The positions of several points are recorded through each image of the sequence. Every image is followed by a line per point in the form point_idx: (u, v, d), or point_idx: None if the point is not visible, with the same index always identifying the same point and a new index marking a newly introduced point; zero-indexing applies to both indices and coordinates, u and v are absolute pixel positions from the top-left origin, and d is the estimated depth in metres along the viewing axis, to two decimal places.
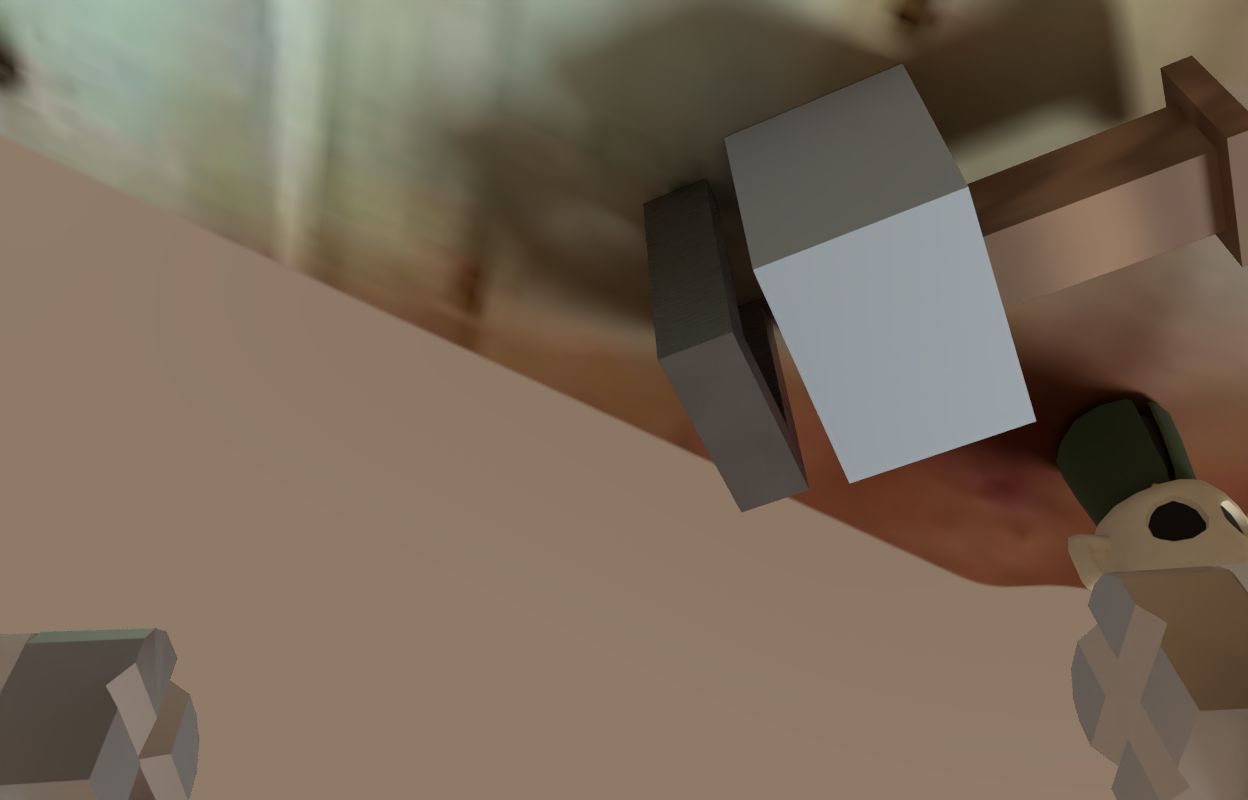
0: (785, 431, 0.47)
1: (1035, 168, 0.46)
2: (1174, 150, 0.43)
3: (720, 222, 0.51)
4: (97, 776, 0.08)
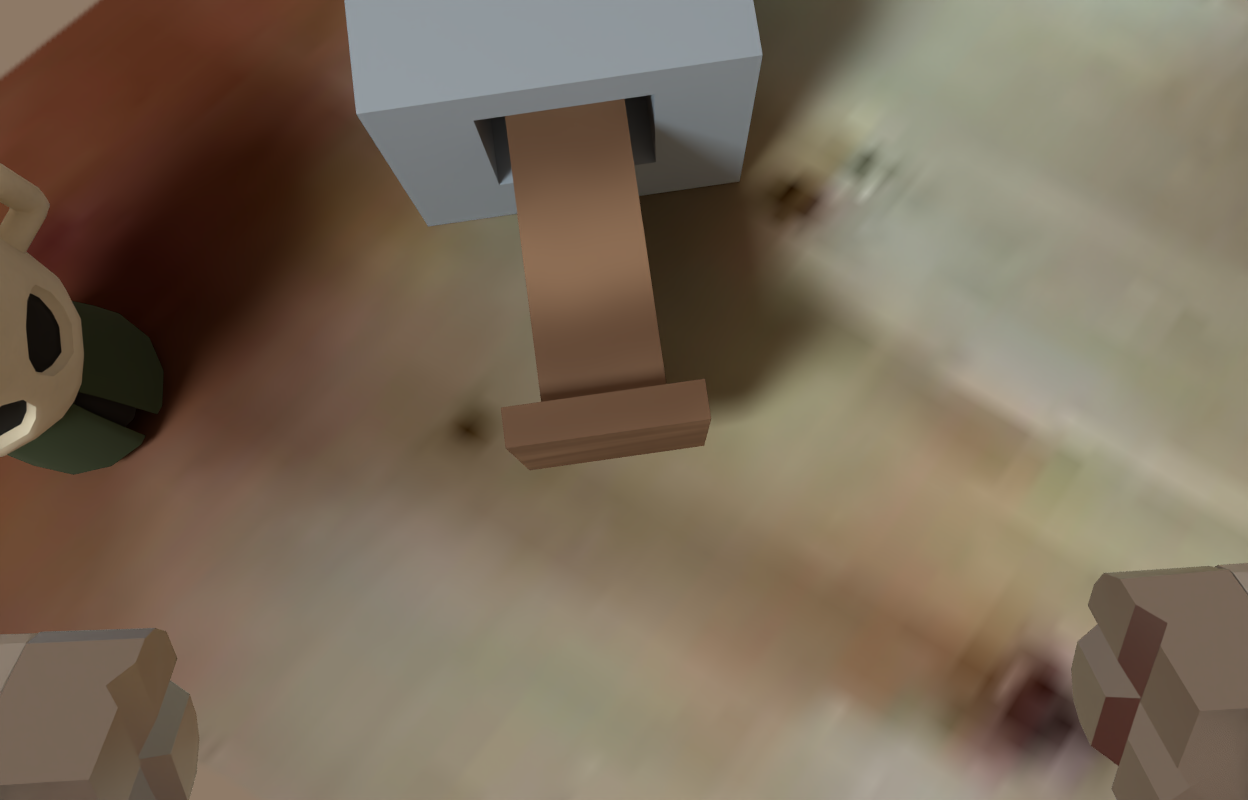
0: None
1: None
2: None
3: None
4: (97, 776, 0.08)
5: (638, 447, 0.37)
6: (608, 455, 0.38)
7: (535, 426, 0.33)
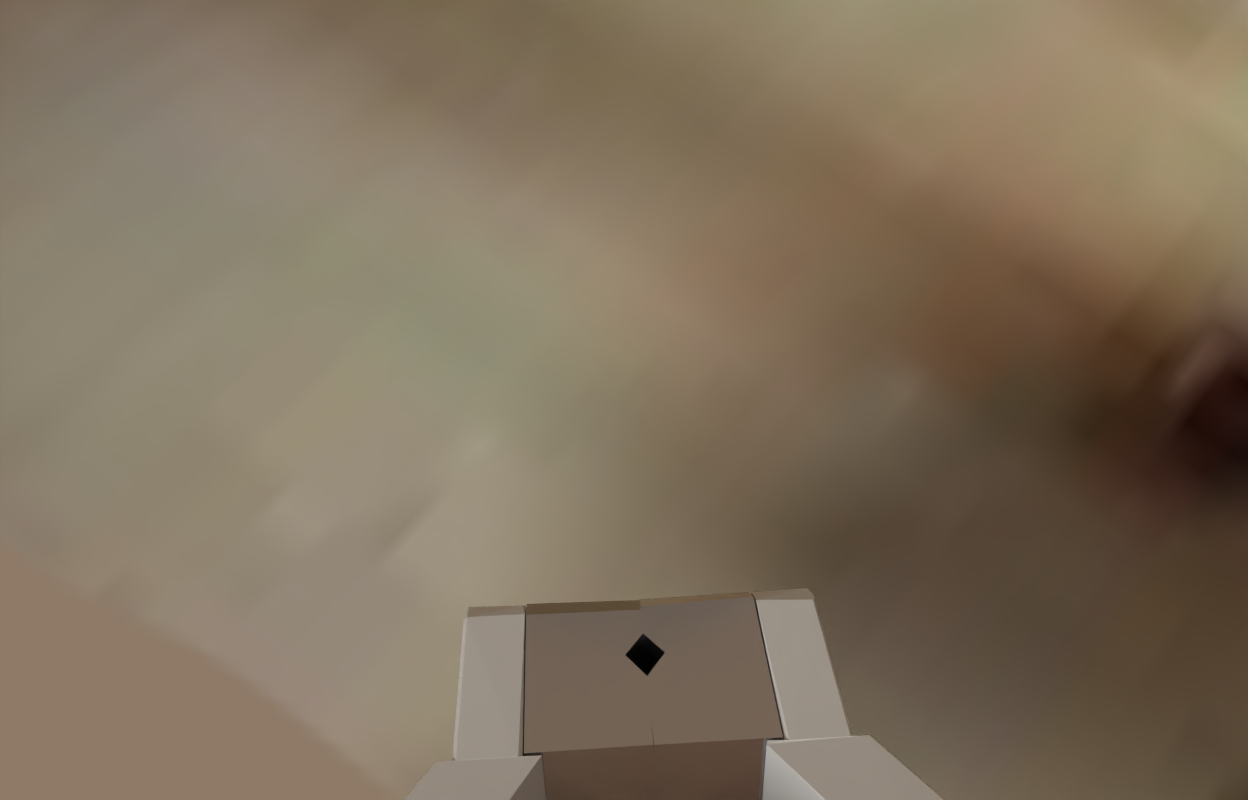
0: None
1: None
2: None
3: None
4: (651, 742, 0.08)
5: None
6: None
7: None
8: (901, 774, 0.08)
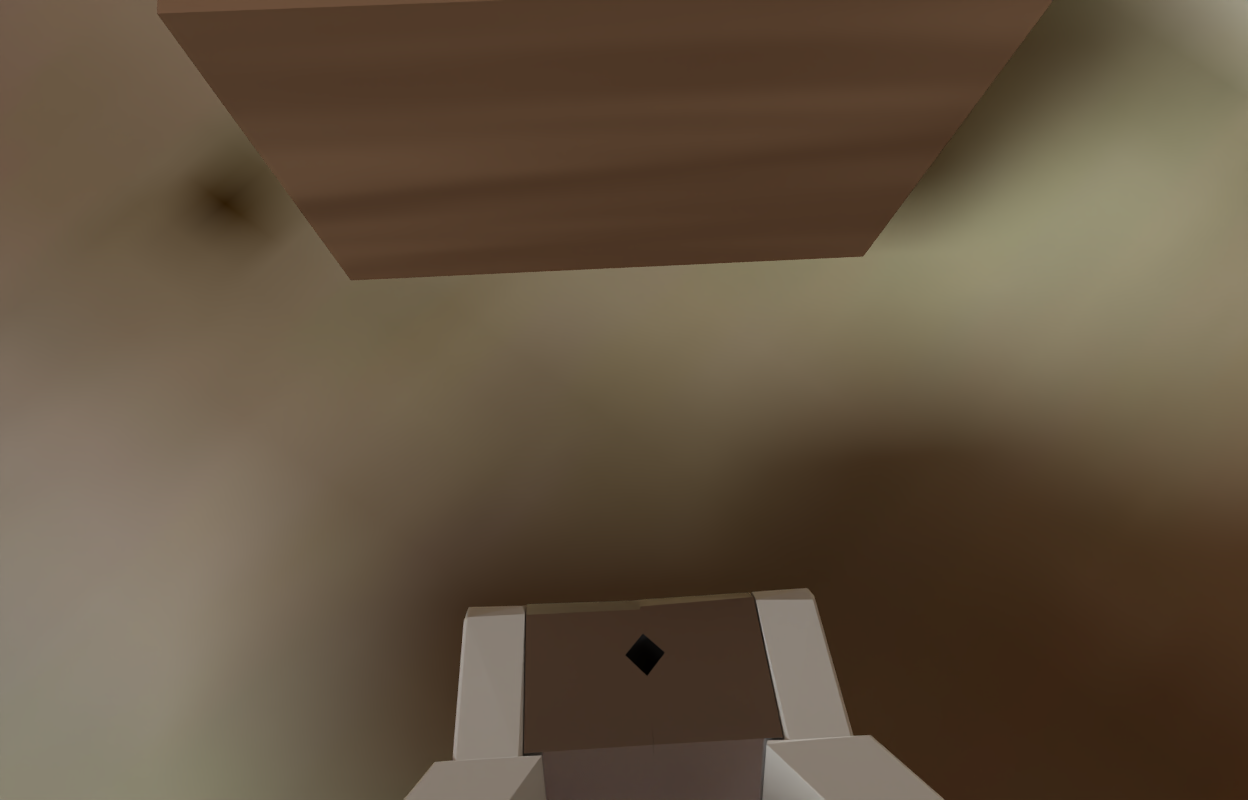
0: None
1: None
2: None
3: None
4: (651, 742, 0.08)
5: (689, 206, 0.12)
6: (588, 242, 0.12)
7: None
8: (901, 774, 0.08)
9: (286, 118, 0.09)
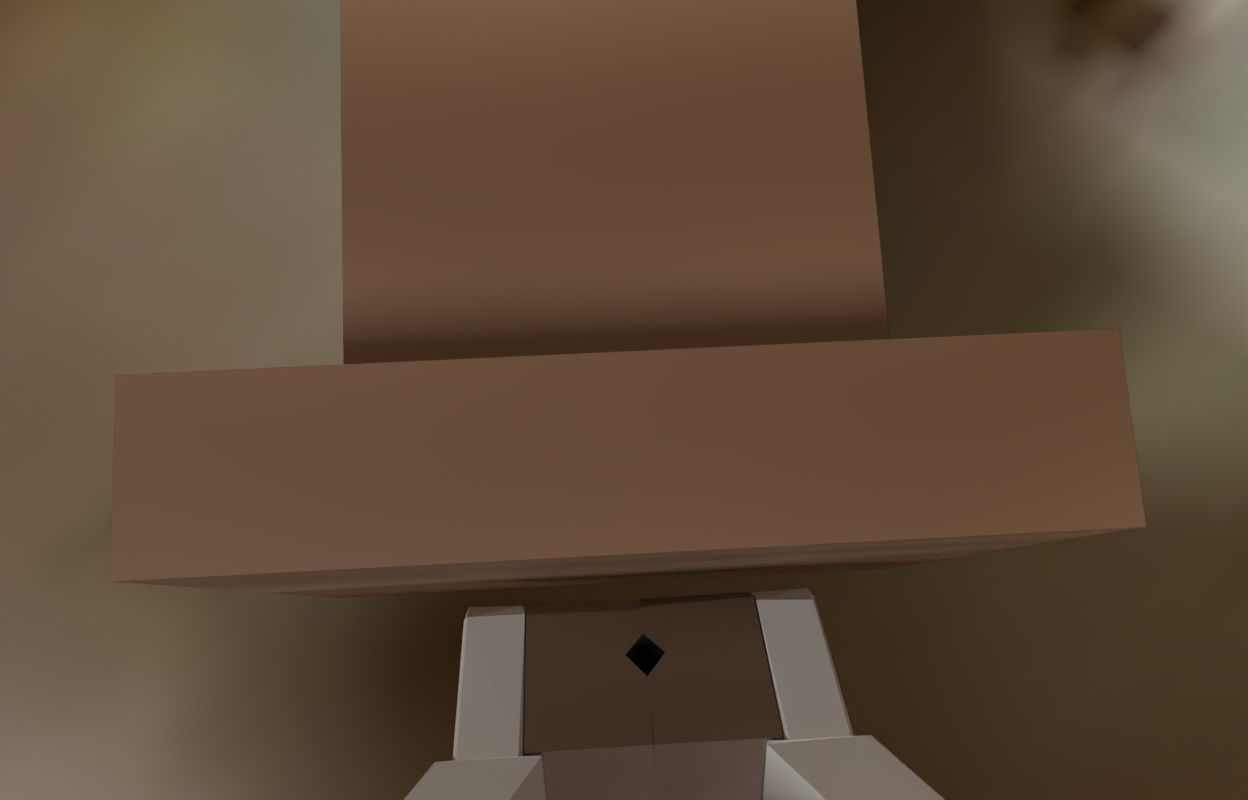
0: None
1: None
2: None
3: None
4: (651, 742, 0.08)
5: (705, 572, 0.11)
6: (594, 581, 0.12)
7: (273, 482, 0.07)
8: (901, 774, 0.08)
9: (262, 585, 0.08)
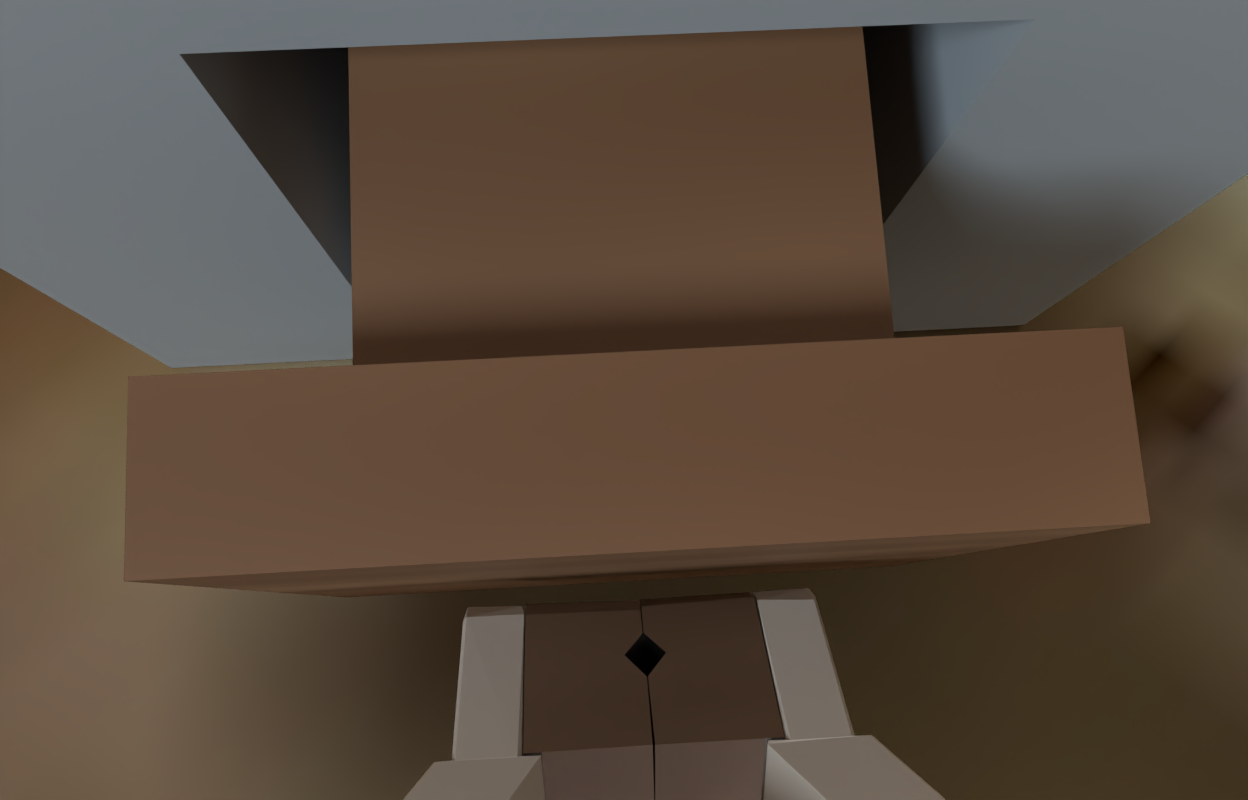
0: None
1: None
2: None
3: None
4: (651, 742, 0.08)
5: (711, 570, 0.11)
6: (600, 579, 0.12)
7: (285, 483, 0.07)
8: (902, 774, 0.08)
9: (272, 584, 0.08)
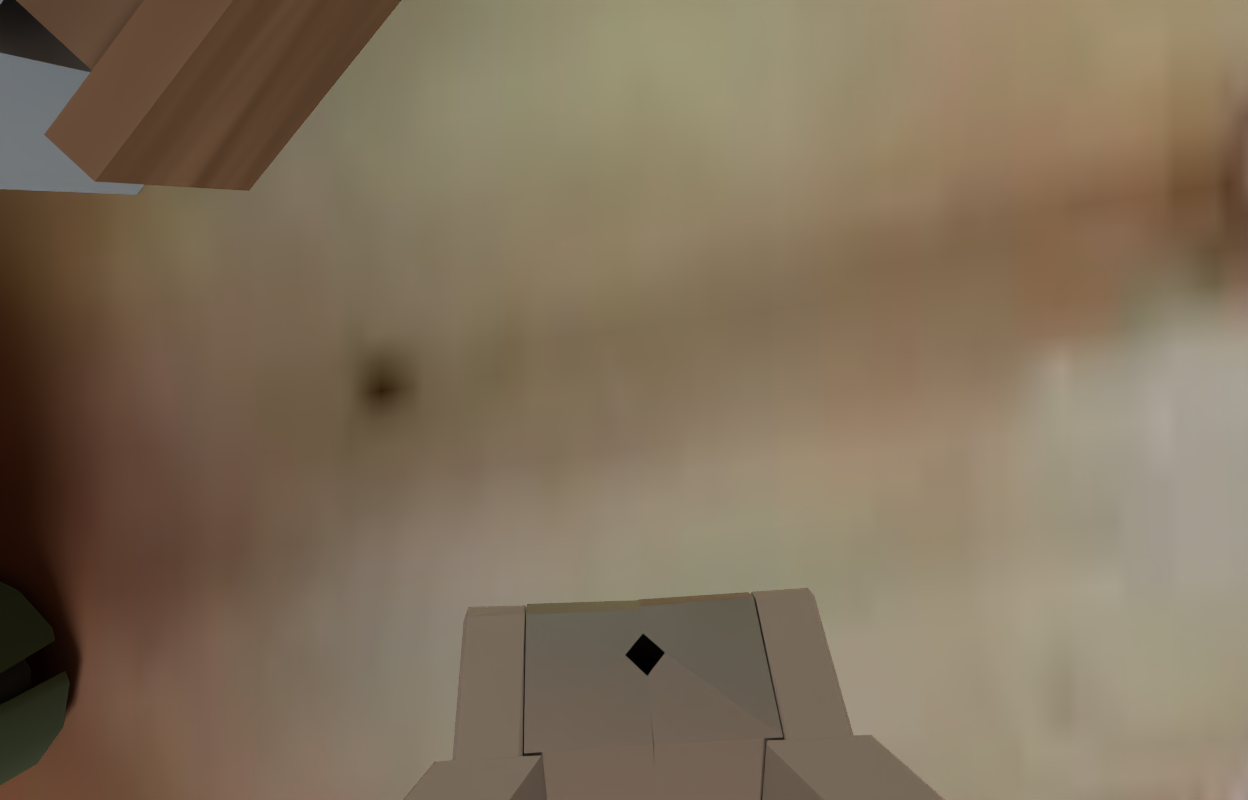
0: None
1: None
2: None
3: None
4: (651, 742, 0.08)
5: (318, 47, 0.23)
6: (307, 91, 0.24)
7: (103, 120, 0.20)
8: (901, 774, 0.08)
9: (157, 168, 0.22)
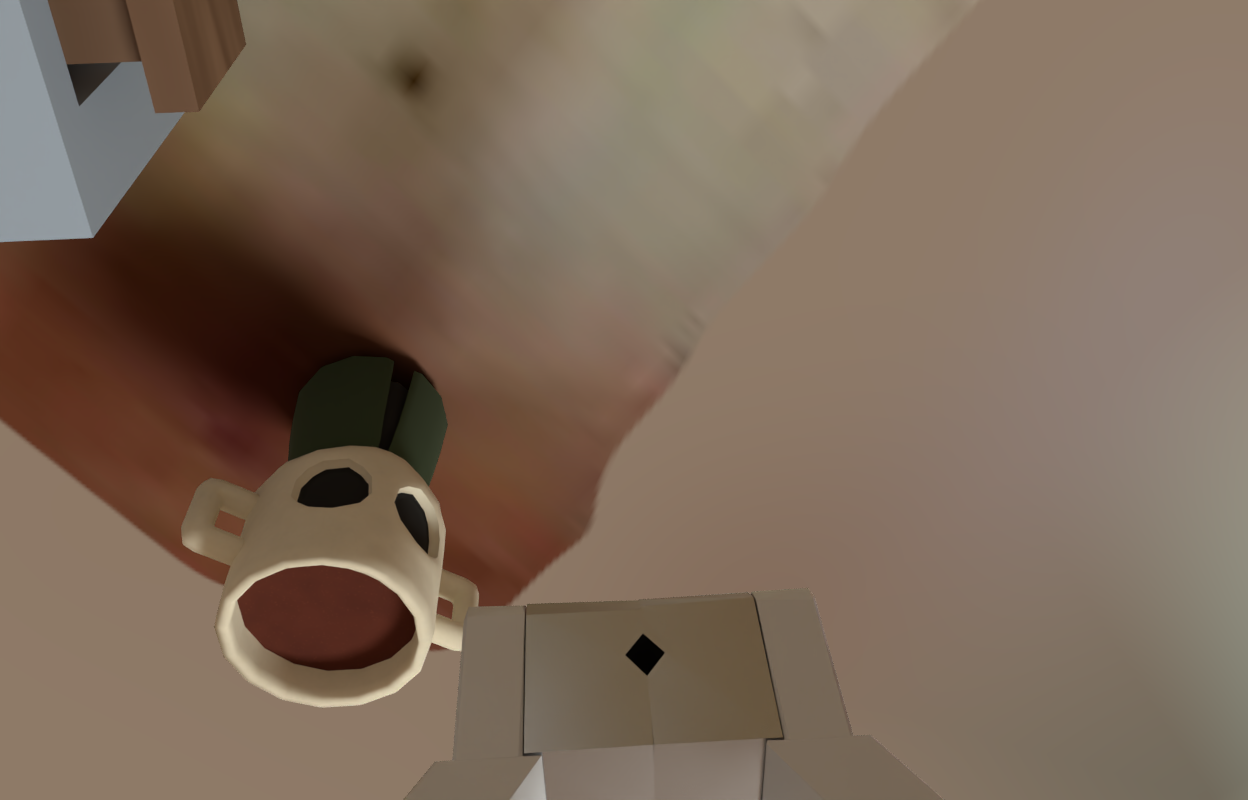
0: None
1: None
2: None
3: None
4: (651, 742, 0.08)
5: None
6: None
7: (172, 79, 0.31)
8: (901, 774, 0.08)
9: (210, 77, 0.33)
